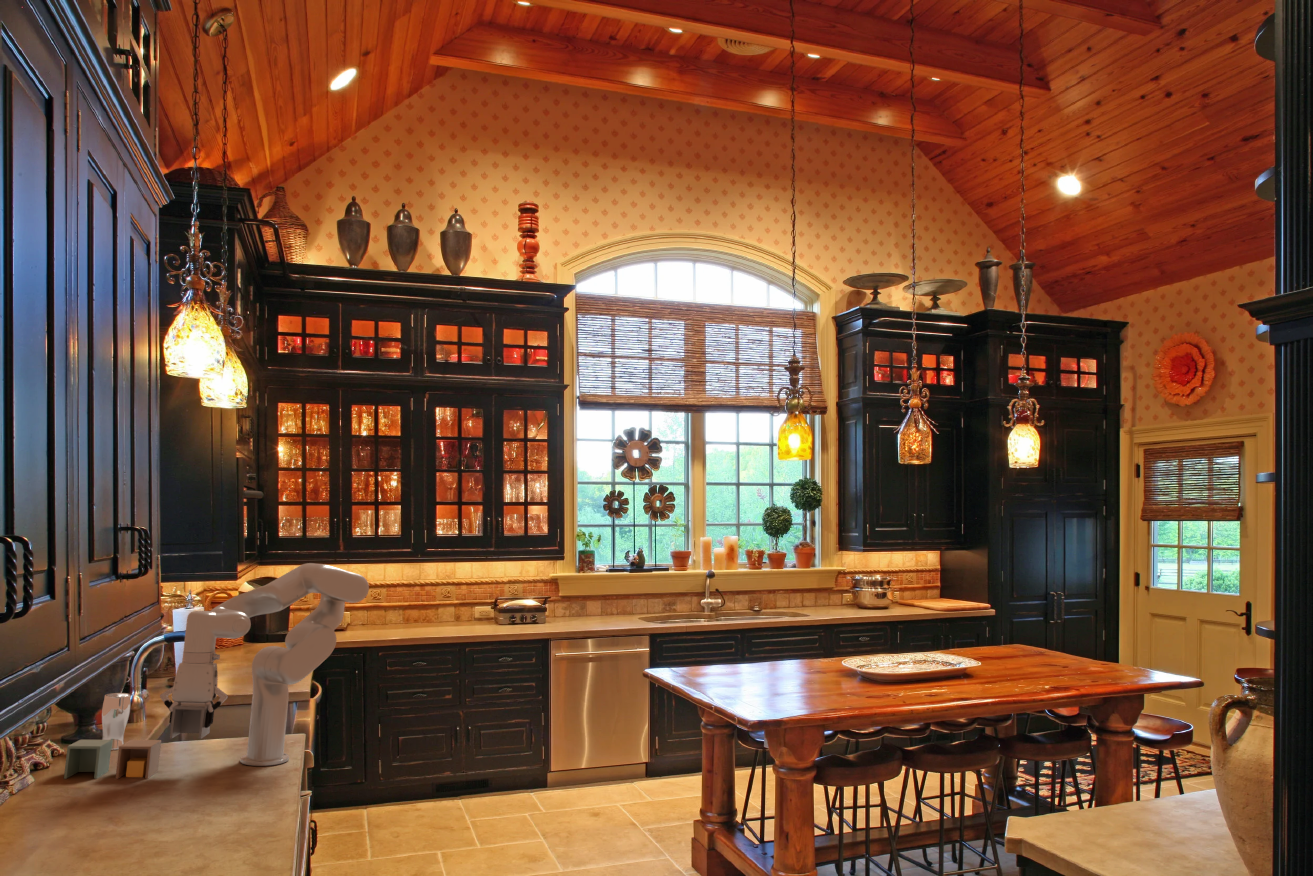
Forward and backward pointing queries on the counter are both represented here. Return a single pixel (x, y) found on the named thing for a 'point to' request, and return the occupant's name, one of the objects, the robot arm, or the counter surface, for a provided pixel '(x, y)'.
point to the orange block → (136, 767)
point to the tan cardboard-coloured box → (139, 755)
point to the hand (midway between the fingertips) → (190, 726)
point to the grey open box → (189, 719)
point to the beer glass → (115, 717)
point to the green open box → (88, 757)
